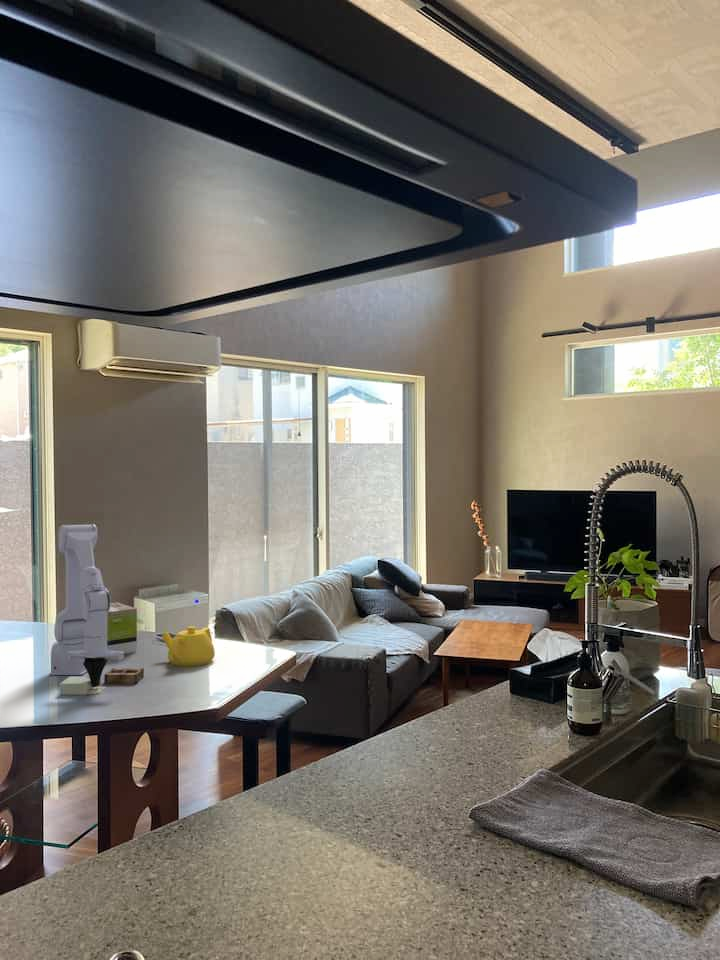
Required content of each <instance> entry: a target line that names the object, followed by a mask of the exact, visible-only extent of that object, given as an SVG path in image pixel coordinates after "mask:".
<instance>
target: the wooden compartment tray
mask: <svg viewBox="0 0 720 960" xmlns="http://www.w3.org/2000/svg"><path fill="white" fill-rule="evenodd" d="M144 673H145V669H144V668H143V667H141V668H140V667H139V668H138V667H135V668H134V667H133V668H131V667H130V668H129V667H127V668H122V667H121V668H120V667H118V668H117V667H113V668H111V669H109V670H108V671H107V672H105V674H104V684H107V685H109V684H110V685H114V684H115V685H116V684H117V685H118V684H119V685H120V684H122V685H123V684H124V685H126V684H127V685H128V684H129V685H133V684H134V685H137V684H138V683H140V681H141V680H142V679H143V678H144V677H145V675H144Z"/></svg>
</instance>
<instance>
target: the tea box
mask: <svg viewBox="0 0 720 960" xmlns="http://www.w3.org/2000/svg"><path fill="white" fill-rule="evenodd" d="M137 609H138V608H135V607H133V606H130V605H126V604H124V603H121V602H110V609H109V611H107V610H106V611H107V650H113V651H124V655H127V654H131V653H133V654H134V653H136V652H138V651H137V650H138V649H137V648H138V647H137V646H138V642H137V641H138V640H137V639H138V635H137V634H138V633H137V631H138V630H137V629H138V625H137V623H138V620H137V619H138V616H137V615H138V610H137Z"/></svg>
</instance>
